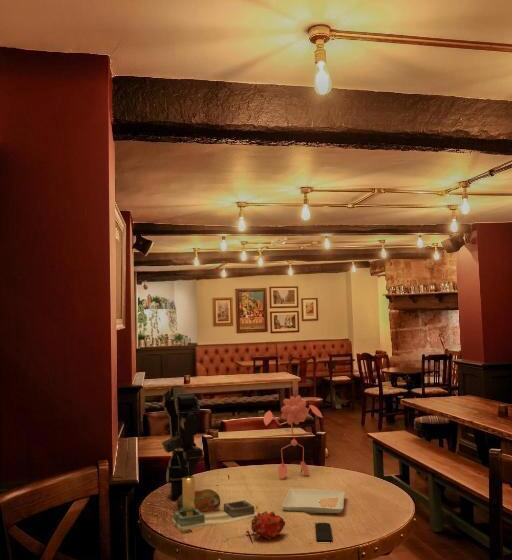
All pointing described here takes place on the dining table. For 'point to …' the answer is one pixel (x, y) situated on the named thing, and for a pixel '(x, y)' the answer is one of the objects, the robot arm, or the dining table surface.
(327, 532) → the remote control
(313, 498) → the salad plate
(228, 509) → the dock board
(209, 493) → the brown flat oval piece
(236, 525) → the dining table surface
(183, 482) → the brass peg
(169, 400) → the robot arm
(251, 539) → the dining table surface
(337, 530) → the dining table surface
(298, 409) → the pink flower figurine
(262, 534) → the dragon fruit
